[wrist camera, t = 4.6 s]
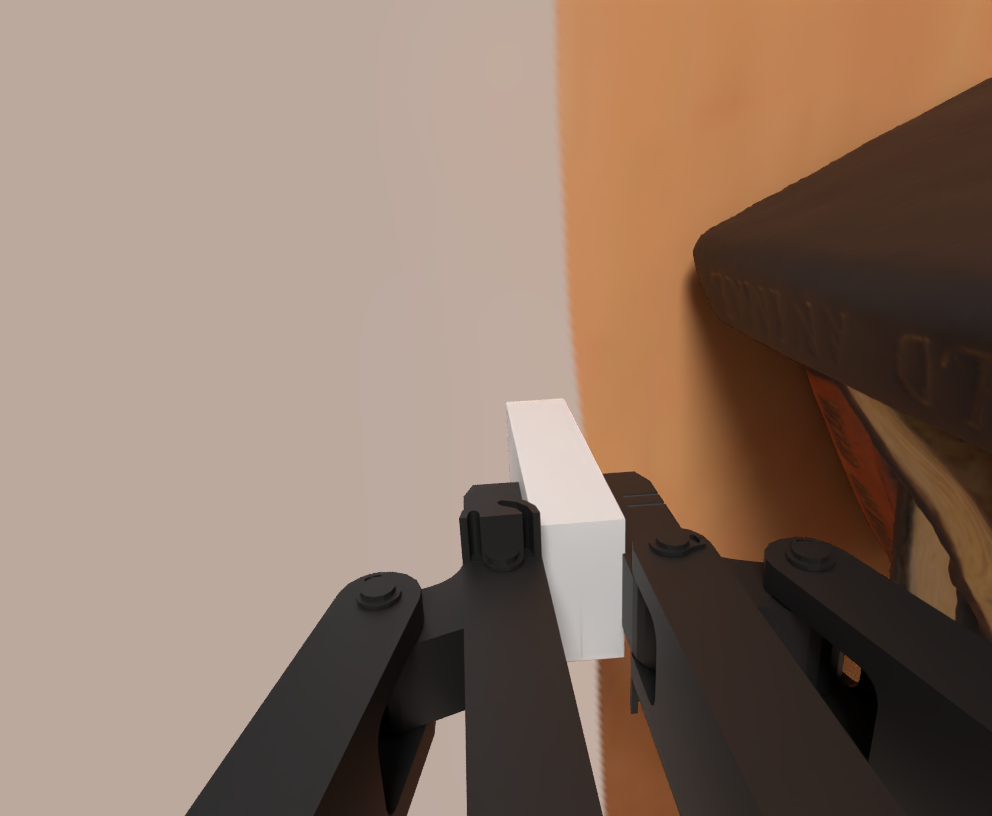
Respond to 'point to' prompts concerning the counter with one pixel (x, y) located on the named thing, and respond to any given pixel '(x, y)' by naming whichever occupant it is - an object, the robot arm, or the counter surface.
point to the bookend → (889, 333)
